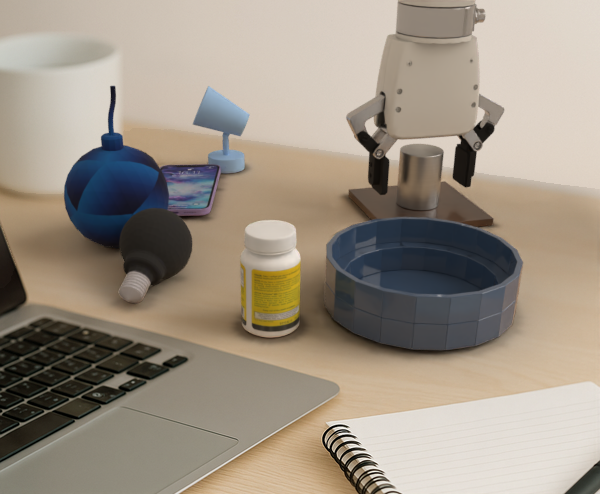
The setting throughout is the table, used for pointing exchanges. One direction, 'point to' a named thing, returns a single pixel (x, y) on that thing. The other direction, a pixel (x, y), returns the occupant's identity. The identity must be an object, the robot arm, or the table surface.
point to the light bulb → (152, 250)
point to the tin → (419, 176)
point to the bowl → (422, 282)
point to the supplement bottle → (270, 279)
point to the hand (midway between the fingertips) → (420, 187)
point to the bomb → (112, 187)
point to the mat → (449, 208)
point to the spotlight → (222, 128)
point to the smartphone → (191, 188)
